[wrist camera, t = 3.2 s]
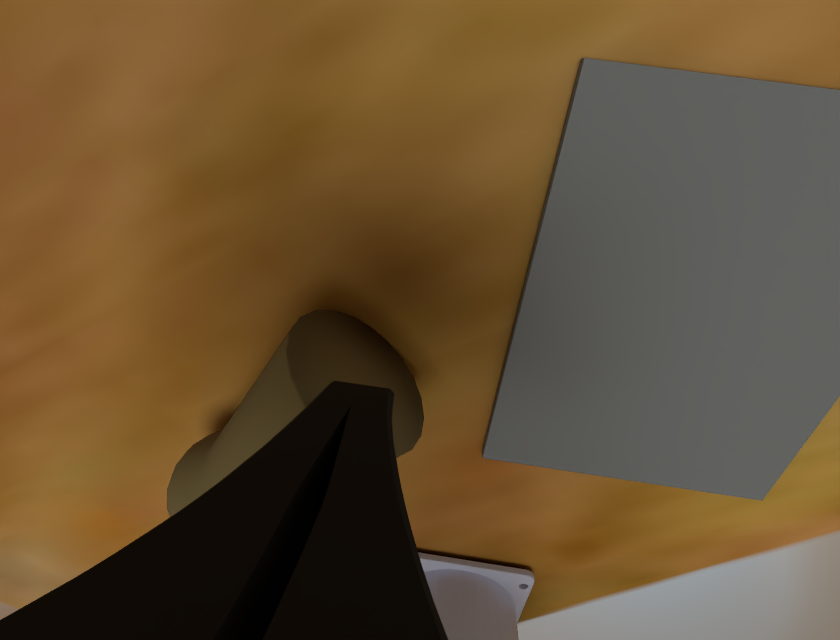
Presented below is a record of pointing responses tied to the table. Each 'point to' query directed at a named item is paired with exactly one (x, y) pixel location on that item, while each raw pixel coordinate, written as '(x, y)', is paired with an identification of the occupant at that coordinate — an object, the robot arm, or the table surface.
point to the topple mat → (679, 284)
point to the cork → (301, 397)
